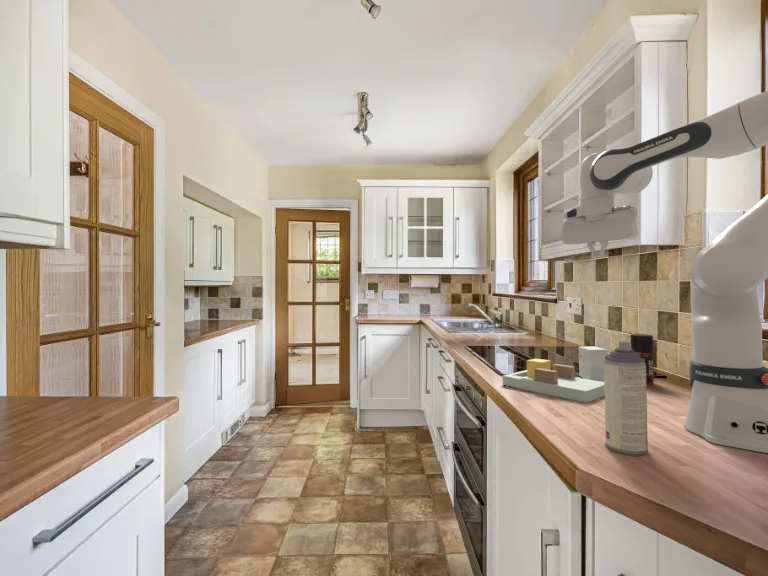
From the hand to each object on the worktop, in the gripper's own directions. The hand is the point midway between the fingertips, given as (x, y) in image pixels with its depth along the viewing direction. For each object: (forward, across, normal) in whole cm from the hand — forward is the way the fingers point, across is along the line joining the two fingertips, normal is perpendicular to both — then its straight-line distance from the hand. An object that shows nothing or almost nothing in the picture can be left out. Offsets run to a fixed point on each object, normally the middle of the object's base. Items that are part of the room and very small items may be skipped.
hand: (597, 257), depth 118 cm
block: (+36, +15, +8) cm, 40 cm away
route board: (+39, +9, +8) cm, 41 cm away
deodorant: (+39, -4, -20) cm, 44 cm away
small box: (+39, +8, -13) cm, 42 cm away
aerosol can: (+39, -22, +40) cm, 60 cm away
